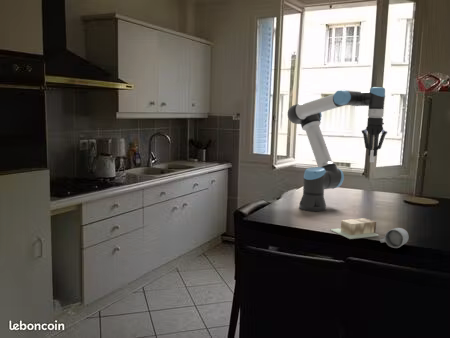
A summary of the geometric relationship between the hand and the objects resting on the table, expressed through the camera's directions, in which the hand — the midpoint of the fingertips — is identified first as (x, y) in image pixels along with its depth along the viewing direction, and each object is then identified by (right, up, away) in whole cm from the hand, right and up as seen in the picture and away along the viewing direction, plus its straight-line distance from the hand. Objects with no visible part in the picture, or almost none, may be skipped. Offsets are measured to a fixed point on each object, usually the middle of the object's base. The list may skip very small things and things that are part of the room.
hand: (371, 162), depth 214 cm
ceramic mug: (-7, -36, -45) cm, 58 cm away
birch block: (-10, -30, -26) cm, 41 cm away
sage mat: (-19, -33, -29) cm, 48 cm away
